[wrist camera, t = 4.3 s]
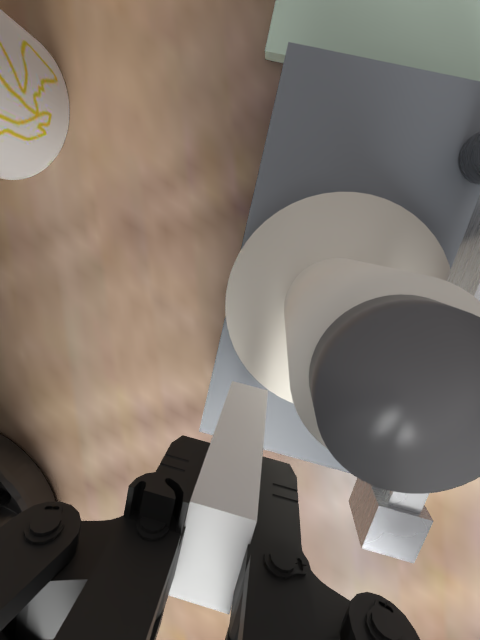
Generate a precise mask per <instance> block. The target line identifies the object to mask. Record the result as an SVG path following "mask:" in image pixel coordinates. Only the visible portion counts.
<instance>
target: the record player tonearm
mask: <svg viewBox="0 0 480 640" xmlns="http://www.w3.org/2000/svg"><path fill="white" fill-rule="evenodd" d="M459 168H460V171H461V173H462V175H463V176H464V178H465V179H467V180H468V181H469V182H471V183H473V184H477V185H480V131H479V132H477V133H476V134H474V135H473V136H471V137H470V138H469V139H468V140H467V141H466V143H465V144H464V146H463V147H462V149H461V152H460V155H459ZM446 281H448V282H450V283H452V284H454V285H457V286H459V287H461V288H462V289H464V290H465V291H467V292H468V293H470V294H471V295H473V296H474V297H475V298H476V299H477V300H478V301H480V195H479V198H478V200H477V203H476V206H475V208H474V211H473V213H472V216H471V218H470V221H469V224H468V226H467V229H466V231H465V234H464V236H463V239H462V242H461V244H460V247H459V249H458V252H457V255H456V257H455V260H454V262H453V265H452V267H451V270H450V273H449V275H448V278H447V280H446ZM428 495H429V493H425V494H409V493H400V492H394V491H389V490H385V489H382V488H379V487H376V486H373V485H371V484H369V483H367V482H365V481H362V480H361V479H359V478H357V481H356V483H355V486H354V489H353V491H352V494H351V497H350V499H349V504H350V508H351V511H352V515H353V519H354V522H355V526H356V530H357V533H358V537H359V541H360V544H361V548H362V549H366V550H369V551H373V552H376V553H380V554H383V555H386V556H390V557H393V558H397V559H400V560H404V561H407V562H411V563H414V562H415V560H416V558H417V556H418V553H419V551H420V549H421V547H422V545H423V543H424V540H425V538H426V536H427V534H428V532H429V530H430V527H431V525H432V523H433V520H432V518H431V516H430V514H429V512H428V511H427V509H426V507H425V505H424V504H425V502H426V499H427V497H428Z"/></svg>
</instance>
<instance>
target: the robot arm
mask: <svg viewBox="0 0 480 640" xmlns="http://www.w3.org/2000/svg"><path fill="white" fill-rule="evenodd" d="M267 396H268V390H264V389H260V388H257V387H253V386H249V385H245V384H242V383H238V382H234V381H232V383H231V386H230V389H229V392H228V394H227V397H226V400H225V403H224V406H223V409H222V411H221V414H220V417H219V420H218V423H217V426H216V429H215V431H214V434H213V437H212V440H211V443H208V442H205V441H201V440H197V439H194V438H190V437H187V436H181V437H180V438H178V439H177V440H175V441H174V442H172V443H171V445H170V447H169V448H168V450H167V452H166V454H165V456H164V458H163V459H162V461H161V463H160V465H159V467H158V469H157V470H156V472H154V473H147V474H144V475H142V476H140V477H138V478H136V479H135V480H134V481H133V482H132V483H131V484H130V485H129V488H128V494H127V500H126V505H125V511H124V515H123V516H121V517H119V518H116V519H112V520H105V521H81V518H80V515H79V512H78V511H77V510H76V509H75V508H74V507H73V506H72V505H69V504H66V503H63V502H56V501H55V498H54V495H53V493H52V490H51V488H50V486H49V484H48V482H47V480H46V479H45V477H44V475H43V474H42V472H41V471H40V469H39V468H38V467H37V465H36V464H35V463H34V462H33V461H32V459H31V458H30V457H29V456H28V455H27V454H26V453H25V452H24V451H23V450H22V449H20V448H19V447H18V446H17V445H16V444H14V443H13V442H12V441H10V440H9V439H8V438H6V437H4V436H3V435H1V434H0V640H156V637H157V634H158V630H159V627H160V624H161V620H162V616H163V612H164V607H165V604H166V601H167V598H168V595H169V596H172V597H175V598H178V599H182V600H185V601H188V602H191V603H195V604H198V605H201V606H204V607H207V608H211V609H214V610H217V611H220V612H223V613H227V614H229V613H230V610H231V617H230V624H229V628H228V631H227V635H226V638H225V640H420V639H419V637H418V635H417V633H416V631H415V629H414V628H413V626H412V625H411V623H410V622H409V620H408V619H407V618H406V616H405V615H404V614H403V613H402V612H401V611H400V610H399V609H398V608H397V607H396V606H395V605H394V604H393V603H391V602H390V601H388V600H386V599H385V598H383V597H382V596H380V595H377V594H373V593H369V592H365V593H360V594H357V595H356V596H355V597H354V598H353V599H352V600H351V601H349V600H348V599H346V598H345V597H343V596H341V595H340V594H338V593H337V592H335V591H334V590H332V589H330V588H329V587H328V586H326V585H325V584H324V583H322V582H321V581H320V580H319V579H318V578H317V577H316V576H315V575H314V574H313V572H312V571H311V569H310V565H309V562H308V560H307V558H306V557H305V555H304V554H303V552H302V546H301V532H300V518H299V504H298V493H297V477H296V475H295V473H294V471H293V470H292V468H291V466H290V464H287V463H284V462H280V461H277V460H273V459H270V458H266V457H262V456H263V444H264V432H265V420H266V408H267ZM231 607H232V609H231Z"/></svg>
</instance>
